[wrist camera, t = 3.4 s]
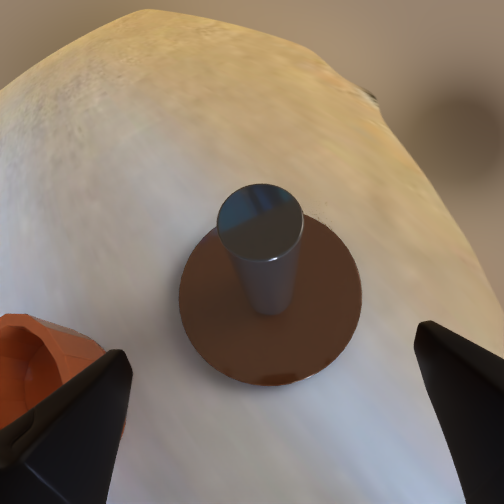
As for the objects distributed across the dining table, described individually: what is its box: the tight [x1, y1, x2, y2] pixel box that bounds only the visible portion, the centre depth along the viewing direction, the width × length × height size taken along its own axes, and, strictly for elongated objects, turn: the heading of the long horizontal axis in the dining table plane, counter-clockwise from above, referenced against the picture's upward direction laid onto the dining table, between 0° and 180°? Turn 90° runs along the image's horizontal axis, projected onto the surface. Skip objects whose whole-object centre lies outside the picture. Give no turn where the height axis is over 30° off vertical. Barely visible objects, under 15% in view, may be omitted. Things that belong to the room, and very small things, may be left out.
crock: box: [0, 314, 126, 440], centre depth 16 cm, size 11×11×6 cm
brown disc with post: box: [179, 184, 362, 386], centre depth 16 cm, size 12×12×11 cm
